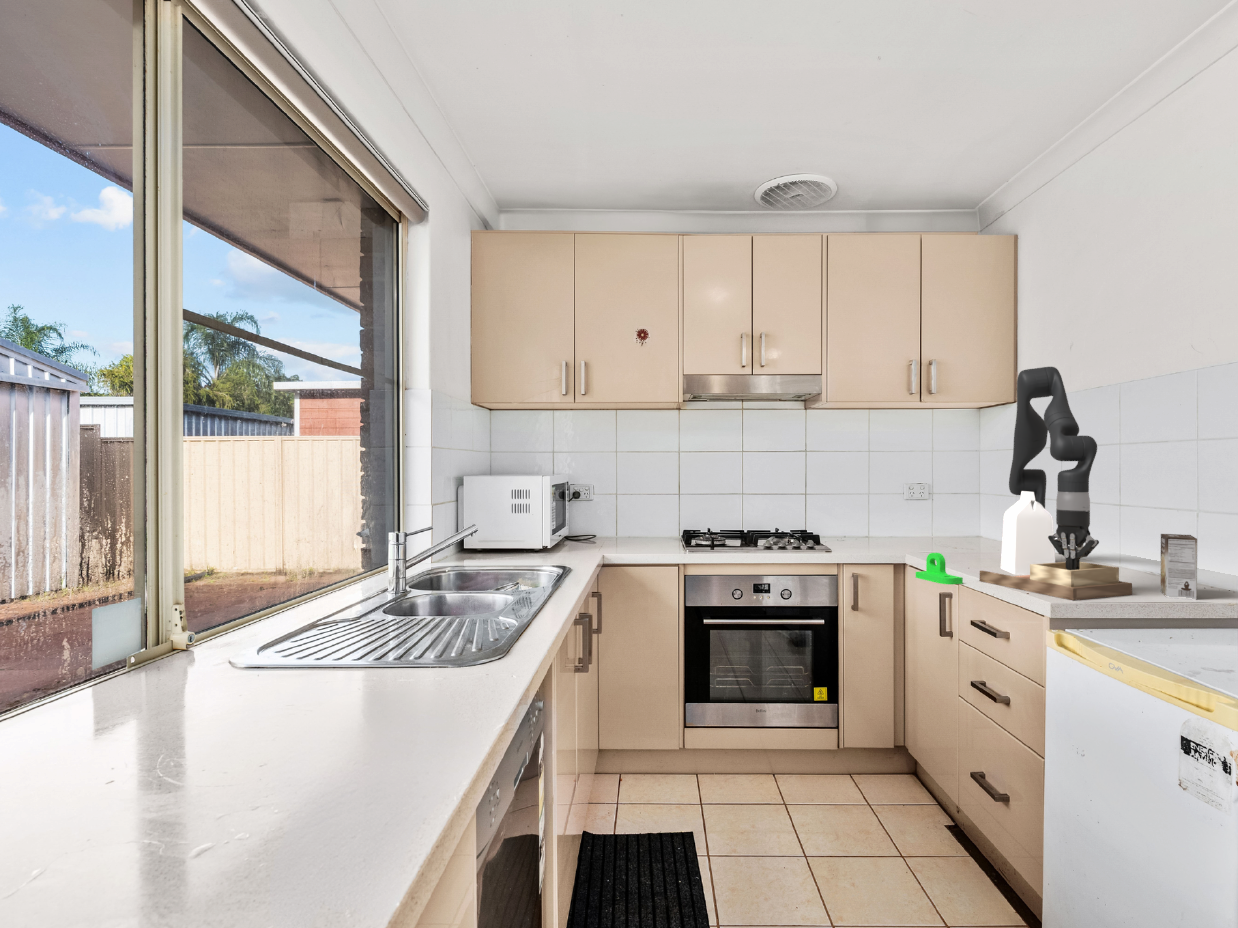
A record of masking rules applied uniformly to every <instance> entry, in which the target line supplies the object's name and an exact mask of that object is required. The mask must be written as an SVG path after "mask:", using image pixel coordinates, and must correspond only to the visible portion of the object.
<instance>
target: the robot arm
mask: <svg viewBox="0 0 1238 928" xmlns="http://www.w3.org/2000/svg"><path fill="white" fill-rule="evenodd" d="M1064 384H1065V383H1064V381H1063V378H1062V375H1061V373H1060V371H1059V370H1058V368H1057V367H1055V366H1043V367H1037V368H1027V369H1023V370H1021V371H1020V372H1019V373H1018V376H1017V381H1016V415H1015V416H1016V418H1015V425H1014V434H1013V449H1012V450H1013V452H1012V453H1013V454H1012V460H1011V461H1012V462H1011V465H1010V466H1011V467H1010V472H1009V480H1008V489H1009V492H1010V493H1011V494H1012V495H1016V496H1021V491H1029V492H1034V496H1035V501H1036V502H1039V503H1040V504H1041V505H1042V506H1043V507H1044V509H1046V492H1047V474H1046V472H1045V470H1044V469H1039V468H1038V469H1037V468H1033V469H1032V468H1025V467H1026V466H1027V465H1028V463H1030V462H1031V461H1032V460H1033V459H1034V458H1036V457H1037V456H1038V455H1039V454H1041V452H1042V451H1043V450H1044V449H1045V447H1046V445H1047V442H1048V441H1047V440H1048V433H1049V441H1050V443H1049V444H1050V445H1049V454H1050V456H1051V457H1052V458H1053V459H1054V460H1056V461H1057V462H1058V461H1059V462H1077V464H1076V466H1075V467H1073V468H1071V469H1063V470H1060V471H1059V472H1058V473H1057V493H1056V500H1055V501H1056V502H1055V503H1056V506H1055V507H1056V510H1055V512H1056V516H1055V520H1056V521H1055V522H1056V525H1057V528H1056V529H1055V533H1054V535H1051V536H1048V539H1049V540H1050V542H1051V543H1052V545H1053V546H1054V549H1055V551H1056V552H1057V554H1059V555H1061V556H1064V557H1065V562H1066V569H1067V570H1079V569H1080V562H1081V559H1082V558H1087V557H1088V556H1089V555H1090V554H1091V553H1092V552H1093V550H1095V548H1096V547H1097V546H1098V545H1099V543H1100V541H1099V540H1098V539H1094V537H1092V536H1091V532H1090V529H1089V528H1090V526H1091V499H1090V489H1089V488H1090V487H1089V486H1090V485H1089V484H1090V474H1091V471H1092V468H1093V464H1094V461H1095V459H1096V455H1097V452H1098V444H1097V441H1096V440H1095V438H1093V437H1092V436H1090V435H1079V433H1080V427H1079V424H1078V421H1077V420H1076V418H1075V417H1074V415H1073V413H1072V410H1071V407H1070V405H1069V400H1068V396H1067V391H1066V389H1065V385H1064ZM1048 397H1052V398H1051V400H1050V402H1049V404H1048V405H1047V407H1046V408H1045V410H1044V413H1043V417H1042V416H1040V414H1039V413H1038V412H1037V411H1036V410H1035V408H1033V406H1032V404H1031V400H1032V399H1040V398H1048Z"/></svg>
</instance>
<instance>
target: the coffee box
mask: <svg viewBox="0 0 1238 928" xmlns="http://www.w3.org/2000/svg"><path fill="white" fill-rule="evenodd" d="M1197 576H1198V538H1196V536H1193V535H1191V534H1181V533H1180V534H1176V533H1174V534H1173V533H1160V592H1161V591H1162V592H1161V593H1162V594H1163V593H1164V594H1163V596H1165V595H1166V596H1169V597H1186V598H1192V599H1197V597H1198V595H1197V594H1198V593H1197V592H1198V591H1197V588H1198V587H1197V586H1198V584H1197V583H1198V577H1197ZM1166 596H1165V597H1166ZM1192 599H1191V600H1192Z"/></svg>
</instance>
